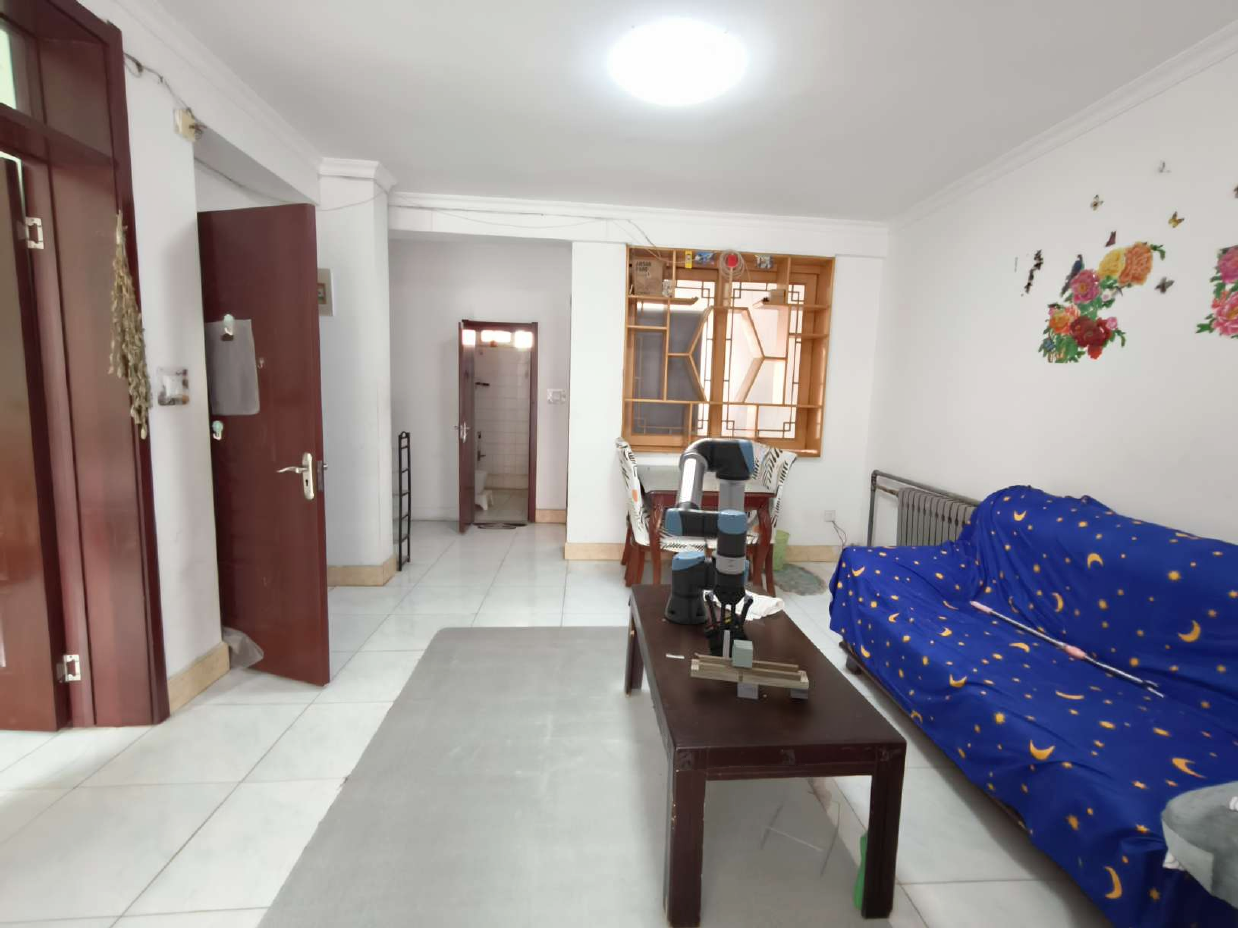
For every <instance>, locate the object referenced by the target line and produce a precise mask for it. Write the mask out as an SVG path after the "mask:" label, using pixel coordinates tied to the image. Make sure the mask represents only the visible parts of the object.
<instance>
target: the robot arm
mask: <svg viewBox="0 0 1238 928" xmlns="http://www.w3.org/2000/svg"><path fill="white" fill-rule="evenodd" d="M678 469H679V471H680V474H679V479H678V480H679V481H678V486H677V492H676V497H675V499H676V500H675V504H674V507H673V508H667V510H666V512H665V519H664V521H665V523H664V524H665V525H664V526H665V527H664V528H665V529H664V530H665V532H666V534H668V535H671V536H672V535H673V536H678V537H697V538H709V539H710V538H712V539H716V548H715V550H713V551H712V552H711V556H710V557H709V556H708V557H707V555H706V553H705V552H703V551H699V550H687V551H681V552H679V553H677V554H675V555H674V556H673V558H672V562H671V564H672V565H671V582H670V583H671V586H670V589H671V590H670V595H669V599H668V601H667V604H666V606H665V614H664V615H665V617H666V619H668V621H671V622H674V623H677V624H680V625H681V624H682V625H699V624H702V623H705V622H706V621H707V620H708V614H709V615H710V620H711V624H712V625H713V629H714V630H717V631H719V633H720V636H719V643H720V644H723V658H729V645H733V644H734V634H735V633H741V631H742V628H744V625H745V622H746V619H747V615H748V613H749V609H750V607H751V606H752V605H753V604H754V597H753V596H752V595H749V594H748V593H746V588H747V583H748V577H749V570H750V561H749V560H748V559H747V558H746V557H747V552H746V551H747V536H748V528H749V525H748V524H749V523H748V515H747V513H745V511H744V510H745V508H744V507H745V492H746V490H745V489H746V484H747V483H748V482H749V481H750V480H751V475H755V473H756V469H755V455H754V447H753V443H752V442H751V440H749V439H742V438H716V437H715V438H714V437H705V438H701V439H698V440H695V441H694V442H692V443H691V444H690V445H688V446H687V447H686V448H685V449H684V450H683V452H682V454H681V455H680V457H679V462H678ZM707 473H714V474H715V477H714V478H715V479H716V480H717V481H718V483H719V487H718V506H717V507H718V510H704V509H703V510H702V509H701V508H702V498H703V490H704V489H703V487H704V479H705V478H704V477H705V474H707ZM705 591H706V592H705ZM704 592H705V593H704ZM714 596H715V597H714ZM715 598H716V599H717V600H718V602H719V603H720V619H719V621H720V625H719V624H718V623H717V622H718V619H717V615H716V614H717V613H716V610H715V604H714V599H715ZM742 599H743V605H742V608H741V612H740V615H739V617H740V618H739V621H738V624H737V626H735V614H737V613H736V609H737V605H739V603H740V602H741V600H742ZM706 603H707V604H708V605H707V604H706ZM728 605H729V606H730V612H729V613H730V615H729V616H730V631H728V630H725V618H726V610H727V606H728ZM707 606H708V608H707ZM708 609H709V611H708Z"/></svg>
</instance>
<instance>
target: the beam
mask: <svg viewBox="0 0 1238 928" xmlns="http://www.w3.org/2000/svg"><path fill="white" fill-rule="evenodd" d="M698 657H699V659H695V658H692V659H691V667H690V677H692V678H701V679H710V680H717V681H727V682H735V683H736V686H737V687H736V688H737V698H743V699H744V698H745V699H754V700H758V698H759V685H761V686H763V685H764V686H769V687H771V686H772V687H777V688H778V687H779V688H786V689H787V688H788V691H789V693H790V695H789V696H790V698H796V699H804V700H805V699H806V700H808V691H809V687H810V682H809V679H808V675H807V672H806V671H805V670H799V665H798V664H790V663H783V662H772V661H761V660H754V659H753V661H752V668H748V667H739V666H733V665H732V658H723V657H717V656H709V654H708V655H706V654H699V656H698Z"/></svg>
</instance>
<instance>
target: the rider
mask: <svg viewBox="0 0 1238 928" xmlns="http://www.w3.org/2000/svg"><path fill="white" fill-rule="evenodd" d="M753 656H754V646H753V641H750V640H747V641H742V640H734V644H733V650H732V665H733V666H739V667H748V668H752V661H753V660H754V657H753Z"/></svg>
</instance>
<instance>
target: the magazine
mask: <svg viewBox="0 0 1238 928" xmlns="http://www.w3.org/2000/svg"><path fill="white" fill-rule="evenodd" d="M739 618H740V615H738V614H737V613H735V626H737V624H738V621H739ZM717 623H718V624H719V625H720V620H717ZM702 629H703V635H704V636H705V638H706V640H708V643H707V647H708V648H709V652H710V653H708V656H717V657H723V644H720V643H719V636H720V633H719V631H717V630H714V629H713V625H712V623H711V624H709V625H707V626H705V627H703V628H702ZM725 630H728V631H730V615H729V616H728V617H725ZM734 640H742V641H749V638H748V636H747V634H746V633H745V628H744V627H743V628H742V631H741V633H735V634H734ZM732 650H733V645H729V658H732Z"/></svg>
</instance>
